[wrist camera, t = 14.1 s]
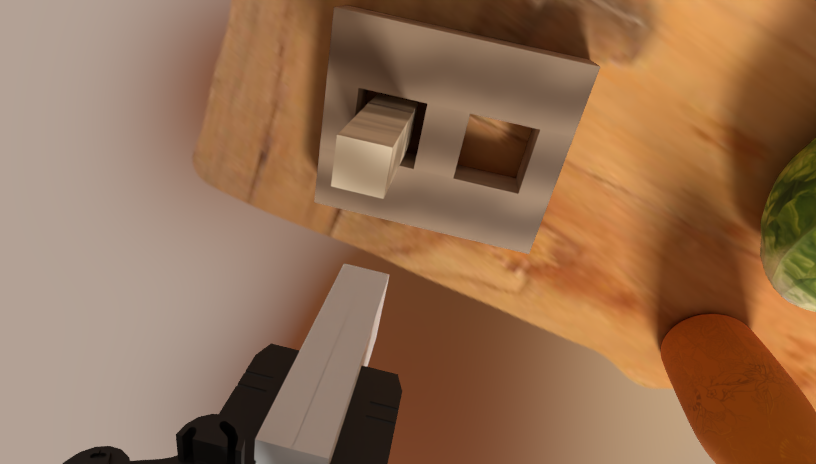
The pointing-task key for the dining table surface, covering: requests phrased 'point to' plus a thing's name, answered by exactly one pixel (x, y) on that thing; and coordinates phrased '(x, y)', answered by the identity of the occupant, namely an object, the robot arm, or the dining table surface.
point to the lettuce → (792, 231)
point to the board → (453, 122)
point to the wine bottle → (738, 394)
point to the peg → (373, 146)
